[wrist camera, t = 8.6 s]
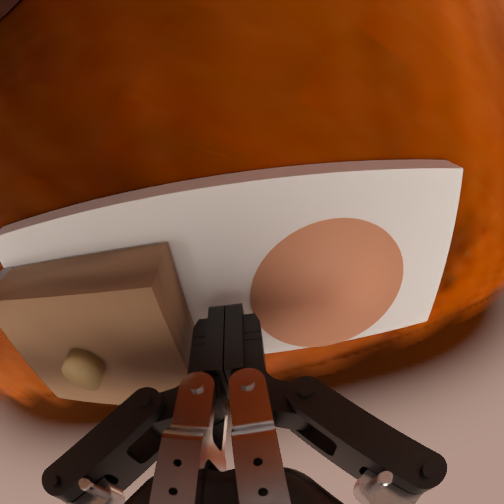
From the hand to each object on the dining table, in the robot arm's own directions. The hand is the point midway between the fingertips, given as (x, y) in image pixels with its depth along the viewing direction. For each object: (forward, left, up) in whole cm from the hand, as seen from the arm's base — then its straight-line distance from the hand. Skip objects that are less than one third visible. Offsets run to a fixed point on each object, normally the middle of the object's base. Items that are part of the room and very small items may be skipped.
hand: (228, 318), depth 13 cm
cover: (0, -7, -1) cm, 7 cm away
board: (-1, 0, -3) cm, 3 cm away
